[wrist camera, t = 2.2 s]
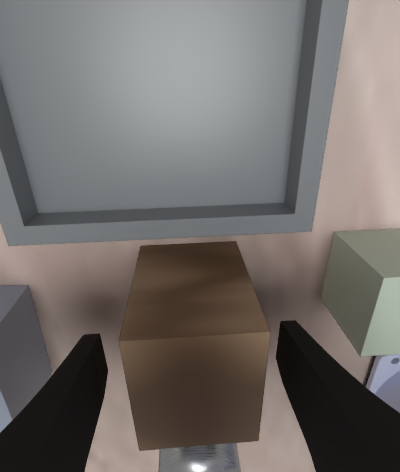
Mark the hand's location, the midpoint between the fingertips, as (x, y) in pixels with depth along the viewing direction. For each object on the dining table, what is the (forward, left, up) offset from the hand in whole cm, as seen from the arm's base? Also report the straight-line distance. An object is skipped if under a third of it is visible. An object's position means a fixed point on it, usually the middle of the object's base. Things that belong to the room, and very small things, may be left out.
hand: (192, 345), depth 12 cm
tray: (+1, -10, -4) cm, 11 cm away
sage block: (-9, -1, -4) cm, 10 cm away
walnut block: (0, 0, -4) cm, 4 cm away
